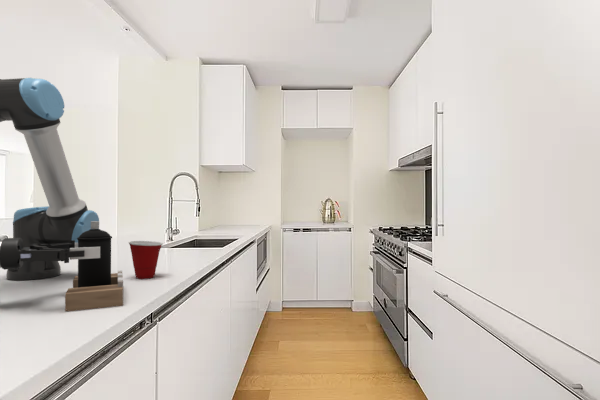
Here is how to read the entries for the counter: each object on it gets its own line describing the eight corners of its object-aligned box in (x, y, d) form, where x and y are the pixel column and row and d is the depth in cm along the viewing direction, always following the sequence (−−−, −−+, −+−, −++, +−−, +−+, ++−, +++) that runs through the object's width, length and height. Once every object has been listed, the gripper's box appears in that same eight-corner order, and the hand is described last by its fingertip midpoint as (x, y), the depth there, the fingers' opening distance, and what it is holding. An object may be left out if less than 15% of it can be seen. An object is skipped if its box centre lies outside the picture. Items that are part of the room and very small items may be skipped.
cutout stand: (75, 290, 111) (75, 271, 111) (122, 286, 116) (122, 268, 116) (65, 311, 89) (65, 288, 90) (123, 305, 95) (123, 284, 95)
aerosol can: (102, 301, 98) (102, 222, 99) (69, 301, 99) (69, 222, 99) (117, 293, 107) (118, 220, 107) (87, 293, 107) (88, 220, 107)
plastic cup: (161, 279, 127) (162, 242, 127) (125, 281, 124) (125, 243, 124) (164, 273, 137) (164, 239, 137) (130, 275, 134) (130, 240, 134)
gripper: (13, 262, 105) (102, 257, 114) (-14, 278, 83) (99, 271, 92) (13, 234, 105) (102, 231, 115) (-13, 243, 83) (99, 239, 92)
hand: (101, 249), depth 103 cm, fingers open, 13 cm apart
